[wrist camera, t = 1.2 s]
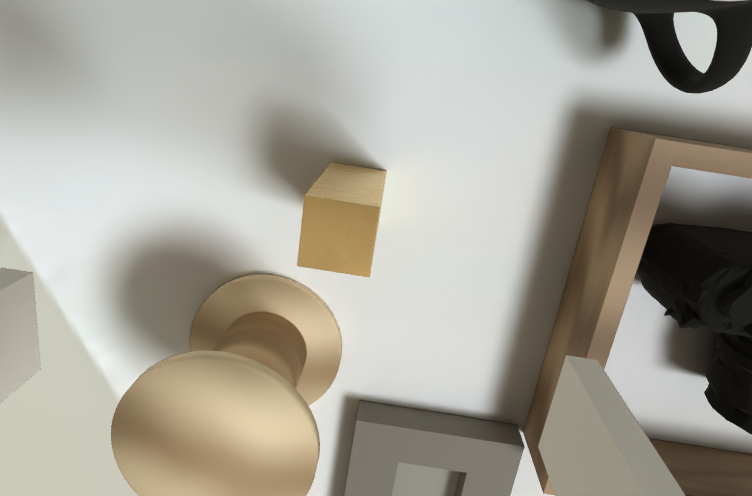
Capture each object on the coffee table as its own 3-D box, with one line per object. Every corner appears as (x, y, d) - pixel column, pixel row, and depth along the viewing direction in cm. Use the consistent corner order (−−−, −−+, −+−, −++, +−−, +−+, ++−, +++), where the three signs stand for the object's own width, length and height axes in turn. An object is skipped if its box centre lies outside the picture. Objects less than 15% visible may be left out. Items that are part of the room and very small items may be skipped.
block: (331, 162, 28) (304, 195, 20) (386, 170, 28) (380, 206, 20) (325, 215, 29) (297, 266, 21) (378, 224, 29) (369, 277, 21)
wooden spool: (197, 263, 30) (109, 344, 21) (351, 287, 30) (328, 379, 21) (192, 394, 33) (112, 516, 24) (332, 416, 33) (305, 546, 24)
